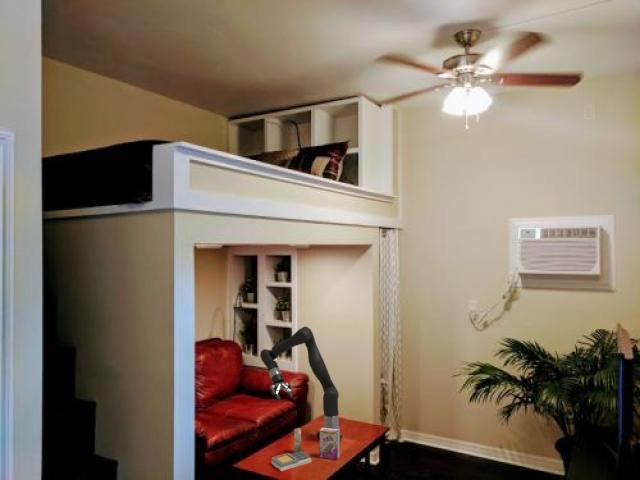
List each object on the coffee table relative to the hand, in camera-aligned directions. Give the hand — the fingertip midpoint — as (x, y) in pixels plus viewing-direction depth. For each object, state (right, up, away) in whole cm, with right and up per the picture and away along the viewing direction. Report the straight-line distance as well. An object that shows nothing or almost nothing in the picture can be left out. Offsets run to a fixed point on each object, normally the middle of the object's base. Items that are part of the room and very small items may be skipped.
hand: (285, 398), depth 308 cm
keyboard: (+5, -28, -26) cm, 39 cm away
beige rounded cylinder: (+8, -29, -12) cm, 32 cm away
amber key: (+2, -26, -28) cm, 39 cm away
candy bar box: (+27, -28, -19) cm, 44 cm away
